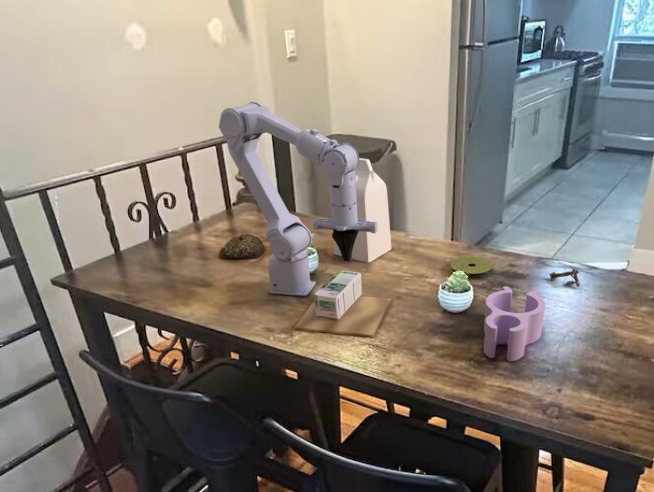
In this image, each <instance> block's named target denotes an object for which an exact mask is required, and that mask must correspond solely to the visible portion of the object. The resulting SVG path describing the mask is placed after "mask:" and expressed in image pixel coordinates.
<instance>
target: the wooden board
mask: <svg viewBox="0 0 654 492" xmlns="http://www.w3.org/2000/svg"><path fill="white" fill-rule="evenodd" d="M391 302H392V298H389V297H388V298H387V297H376V296H366V295H360V297H359V298H358V299H357V300H356V301H355V302H354V303H353V304H352V305H351V306H350V308H349V309H348V310H347V311H346V312H345V313H344V314H343V315H342V316H341V318H340V319H339V320H337V319H331V318H325V317H320V316H316V312H315V303H314V301H313V302H312V303H311V304H310V305H309V307H308V308H307V309H306V311H305V312H304V313H303V315H302V316H301V317H300V319H299V321H298V322H297V323H296V324H295V326H294V329H293V330H295V331H303V332H304V331H306V332H315V333H316V332H317V333H326V334H336V335H347V336H357V337H365V338H367V337H368V338H373V337H374V336H375V334H376V331H377V330H378V328H379V326H380V324H381V322H382V321H383V318H384V316H385V314H386V312H387V310H388V308H389V307H390V305H391Z"/></svg>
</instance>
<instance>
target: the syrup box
mask: <svg viewBox="0 0 654 492" xmlns="http://www.w3.org/2000/svg"><path fill="white" fill-rule="evenodd" d="M362 286H363V285H362V273H361V272H357V271H350V270H342V269H339V270H338V271H337V272H336V273H335V274H334V275H333V276H332V277H331V278H330V279H328V281H326V282H325V283H324V284H323V285H322V286H321V287H320V288H319V289H318V290H317V291H316V292H315V293H313V302H314V303H315V312H316V316H320V317H325V318H331V319H337V320H339V319H340V318H341V316H342V315H343V314H344V313H345V312H346V311H347V310H348V309H349V308H350V306H351V305H352V304H353V303H354V302H355V301H356V300H357V299H358V298H359V297H360V296H362V294H363V288H362Z"/></svg>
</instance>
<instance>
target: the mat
mask: <svg viewBox="0 0 654 492" xmlns="http://www.w3.org/2000/svg"><path fill="white" fill-rule="evenodd" d="M450 268H451V269H453V270H454V271H456V270H460V271H464V272H466V273H465V274H468V275H469V274H471V275H472V274H473V275H475V274H483V273H487V272H489V271H491V270H492V269H493V268H494V264H493V262H492V261H491V260H489V259H487V258H484V257H480V256H462V257H457V258H455V259H453V260H452V261H451V262H450Z"/></svg>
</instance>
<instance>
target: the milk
mask: <svg viewBox="0 0 654 492" xmlns="http://www.w3.org/2000/svg"><path fill="white" fill-rule="evenodd" d="M354 170H355V182H356V201H357V219H360V220H365V221H370V222H377V232H376V233H371V232H362V231H359V232H358V235H357V237H356V240H355V243H354V246H353V250H352V257H351V260H356V261H359V262H364V263H367V264H369V263H371V262H373V261H375V260H376V259H378V258H380V257H381V256H383V255H384V254H386V253H388V252H390V251H391V250H392V239H391V225H390V214H389V213H390V212H389V211H390V210H389V200H388V188H387V184H386V183H385V181H384V180H383V179H382V178H381V177H380V176H379V175H378V174H377V173H376V172H375V171H374V169H373V167H372V163H371V161H370V159H368V158H361V157H359V164H358V166H357V167H356V168H355V169H354ZM352 171H353V170H352ZM350 172H351V171H350ZM333 255H335V256H339V257H342V254H341V252H340V249H339V247H338V245H337V244H336V242H335V240H334V239H333Z"/></svg>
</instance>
